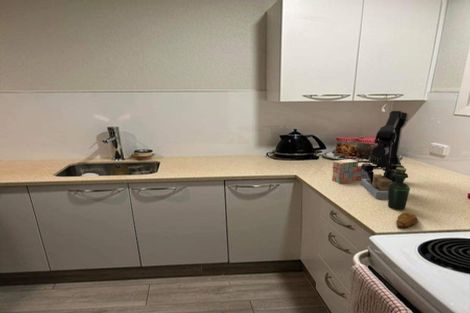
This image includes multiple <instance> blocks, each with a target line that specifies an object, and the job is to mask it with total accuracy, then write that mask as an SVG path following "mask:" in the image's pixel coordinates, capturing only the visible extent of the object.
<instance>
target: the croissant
mask: <svg viewBox="0 0 470 313" xmlns="http://www.w3.org/2000/svg"><path fill="white" fill-rule="evenodd" d="M418 223H419V219H418V216H417V215H416V214H414V213H411V212H402V213H400V214H399V215H398V216H397V220H396V227H397V229H407V228H411V227H414V225H416V224H418Z"/></svg>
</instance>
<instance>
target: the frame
mask: <svg viewBox="0 0 470 313" xmlns="http://www.w3.org/2000/svg"><path fill="white" fill-rule="evenodd" d="M360 185H361V187H363V189H365V190H366V191H367V192H368V193H369V194H370V195H371V196H372V197H373V198H374V199H375V200H388V191H379V190H378V189H376V188H375V187H373V186H372V185H371V184H370V179H361V181H360Z"/></svg>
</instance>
